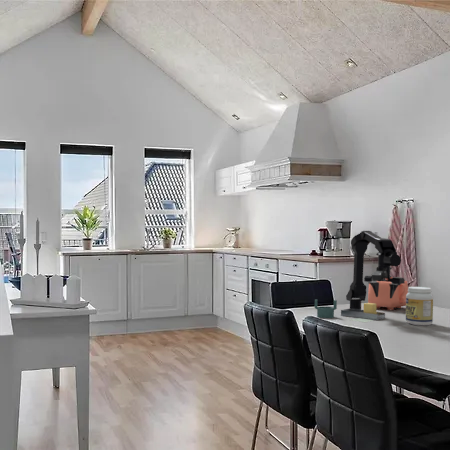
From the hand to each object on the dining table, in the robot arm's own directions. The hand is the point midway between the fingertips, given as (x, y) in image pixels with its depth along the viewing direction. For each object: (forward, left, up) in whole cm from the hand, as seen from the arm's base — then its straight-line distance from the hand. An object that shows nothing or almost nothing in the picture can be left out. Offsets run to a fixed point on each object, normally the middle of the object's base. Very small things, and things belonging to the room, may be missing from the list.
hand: (383, 297), depth 290 cm
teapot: (-47, -20, -11) cm, 53 cm away
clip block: (0, -7, -9) cm, 11 cm away
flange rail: (0, -10, -11) cm, 15 cm away
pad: (+10, -6, -11) cm, 16 cm away
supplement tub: (-5, +16, -11) cm, 20 cm away
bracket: (+13, -24, -11) cm, 30 cm away
